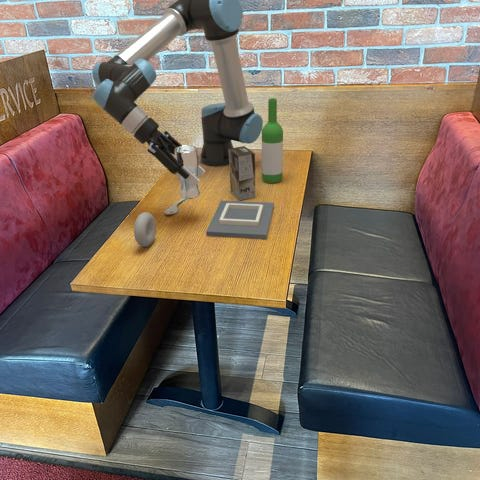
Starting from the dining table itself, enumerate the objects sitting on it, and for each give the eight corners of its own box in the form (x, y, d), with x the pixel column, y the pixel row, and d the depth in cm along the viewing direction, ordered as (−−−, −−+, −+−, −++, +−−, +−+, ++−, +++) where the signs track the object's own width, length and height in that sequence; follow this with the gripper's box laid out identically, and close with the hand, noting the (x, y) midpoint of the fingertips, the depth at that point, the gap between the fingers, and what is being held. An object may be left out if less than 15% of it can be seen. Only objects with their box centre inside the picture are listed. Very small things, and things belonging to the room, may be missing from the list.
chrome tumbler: (197, 200, 138) (193, 153, 130) (176, 199, 139) (170, 152, 131) (203, 190, 144) (199, 145, 136) (183, 189, 145) (177, 144, 137)
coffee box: (256, 197, 158) (255, 153, 150) (239, 201, 156) (238, 156, 148) (245, 188, 165) (244, 145, 157) (229, 191, 163) (227, 148, 155)
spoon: (161, 217, 148) (160, 212, 147) (185, 192, 165) (185, 188, 164) (173, 218, 147) (172, 214, 146) (196, 193, 164) (196, 189, 163)
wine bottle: (279, 185, 167) (280, 102, 152) (259, 182, 169) (258, 101, 154) (284, 177, 173) (286, 97, 158) (265, 175, 175) (265, 96, 160)
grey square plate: (221, 204, 154) (220, 196, 152) (273, 206, 151) (273, 198, 149) (206, 235, 135) (205, 227, 134) (266, 239, 132) (266, 230, 131)
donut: (148, 235, 136) (144, 206, 131) (159, 236, 135) (155, 206, 130) (134, 253, 128) (129, 221, 123) (146, 254, 127) (141, 222, 122)
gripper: (145, 124, 142) (199, 174, 148) (121, 145, 126) (183, 200, 131) (159, 108, 139) (214, 159, 144) (136, 126, 122) (199, 184, 128)
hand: (199, 178), depth 138 cm, fingers closed on chrome tumbler, 7 cm apart
